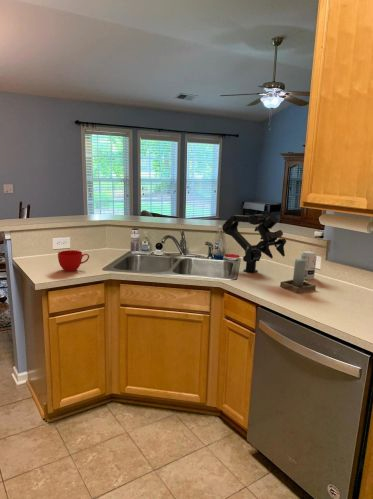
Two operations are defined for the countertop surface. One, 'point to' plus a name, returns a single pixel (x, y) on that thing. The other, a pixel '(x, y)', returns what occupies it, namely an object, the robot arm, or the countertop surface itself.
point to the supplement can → (309, 264)
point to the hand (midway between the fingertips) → (278, 257)
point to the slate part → (299, 272)
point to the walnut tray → (305, 288)
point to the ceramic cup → (71, 260)
